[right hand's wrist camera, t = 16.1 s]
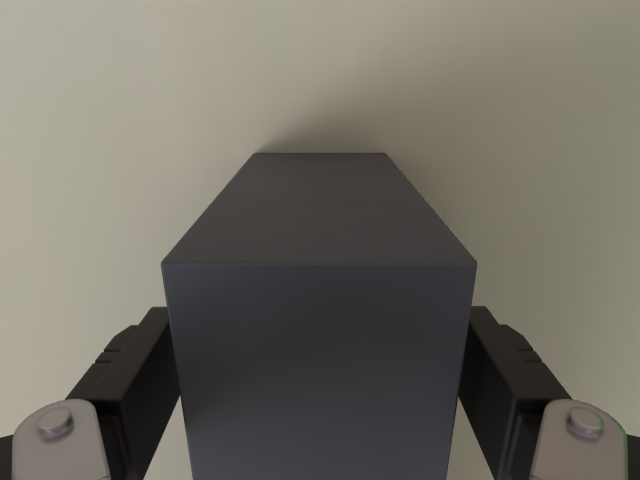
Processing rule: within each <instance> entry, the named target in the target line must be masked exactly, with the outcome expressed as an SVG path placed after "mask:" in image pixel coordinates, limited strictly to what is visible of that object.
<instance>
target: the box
mask: <svg viewBox="0 0 640 480" xmlns="http://www.w3.org/2000/svg"><path fill="white" fill-rule="evenodd" d="M161 269H162V275H163V282H164V289H165V295H166V302H167V309H168V316H169V322H170V329H171V336H172V342H173V349H174V356H175V362H176V369H177V376H178V382H179V389H180V396H181V402H182V409H183V416H184V422H185V429H186V436H187V442H188V449H189V456H190V462H191V469H192V476H193V480H446V476H447V469H448V462H449V456H450V449H451V442H452V435H453V428H454V421H455V414H456V407H457V400H458V393H459V386H460V380H461V373H462V366H463V359H464V352H465V345H466V338H467V331H468V324H469V317H470V310H471V304H472V297H473V290H474V283H475V276H476V269H477V262H476V260H475V259H474V258H473V257H472V256H471V254H470V253H469V252H468V251H467V250H466V248H465V247H464V246H463V245H462V244H461V242H460V241H459V240H458V239H457V238H456V236H455V235H454V234H453V233H452V232H451V230H450V229H449V228H448V227H447V226H446V225H445V223H444V222H443V221H442V220H441V219H440V217H439V216H438V215H437V214H436V213H435V211H434V210H433V209H432V208H431V207H430V205H429V204H428V203H427V202H426V201H425V200H424V198H423V197H422V196H421V195H420V194H419V192H418V191H417V190H416V189H415V188H414V186H413V185H412V184H411V183H410V182H409V180H408V179H407V178H406V177H405V176H404V174H403V173H402V172H401V171H400V170H399V169H398V167H397V166H396V165H395V164H394V163H393V161H392V160H391V159H390V158H389V157H388V155H387V154H386V153H254V154H253V155H252V156H251V157H250V158H249V160H248V161H247V162H246V163H245V164H244V165H243V167H242V168H241V169H240V170H239V171H238V172H237V174H236V175H235V176H234V177H233V178H232V180H231V181H230V182H229V183H228V184H227V185H226V187H225V188H224V189H223V190H222V191H221V192H220V194H219V195H218V196H217V197H216V198H215V200H214V201H213V202H212V203H211V204H210V205H209V207H208V208H207V209H206V210H205V211H204V212H203V214H202V215H201V216H200V217H199V218H198V220H197V221H196V222H195V223H194V224H193V225H192V227H191V228H190V229H189V230H188V231H187V232H186V234H185V235H184V236H183V237H182V238H181V240H180V241H179V242H178V243H177V244H176V245H175V247H174V248H173V249H172V250H171V251H170V253H169V254H168V255H167V256H166V257H165V258H164V260H163V261H162V262H161Z"/></svg>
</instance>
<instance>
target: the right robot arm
mask: <svg viewBox="0 0 640 480" xmlns="http://www.w3.org/2000/svg"><path fill="white" fill-rule="evenodd" d="M179 396H180V389H179V382H178V376H177V369H176V362H175V356H174V349H173V342H172V336H171V329H170V322H169V316H168V309H167V307H152V308H151V309H150V310H149V311H148V313H147V314H146V316H145V317H144V318H143V320H142V321H141V322H140V324H139V325H131V326H129V327H128V328H126V329H125V330H123V331H122V332H120V333H119V334H117V335H116V336H114V338H113V339H112V340H111V341H110V343H109V344H108V345H107V346H106V348H105V349H104V352H102V353H101V354H100V355H99V357H98V358H97V359H96V360H95V364H92V366H91V367H90V368H89V369H88V371H87V372H86V373H85V374H84V376H83V377H82V378H81V380H80V381H79V382H78V383H77V385H76V386H75V387H74V388H73V390H72V391H71V392H70V394H69V395H68V396H67V397H66V399H65V400H62V401H58V402H55V403H52V404H50V405H47V406H45V407H43V408H41V409H39V410H37V411H36V412H34V413H33V414H31V415H30V416H28V417H27V418H26V419H25V420H24V421H23V422H22V423H21V424H20V425H19V426H18V428H17V429H16V431H15V433H14V434H13V435H10V436H6V437H2V438H0V480H143V479H144V476H145V474H146V472H147V470H148V467H149V465H150V463H151V460H152V458H153V456H154V454H155V451H156V449H157V447H158V444H159V442H160V440H161V438H162V435H163V433H164V431H165V428H166V426H167V424H168V421H169V419H170V417H171V415H172V412H173V410H174V408H175V405H176V403H177V401H178V399H179ZM458 396H459V399H460V401H461V403H462V405H463V408H464V410H465V412H466V415H467V417H468V419H469V422H470V424H471V426H472V429H473V431H474V433H475V436H476V438H477V440H478V443H479V445H480V447H481V450H482V452H483V454H484V457H485V459H486V461H487V463H488V466H489V468H490V470H491V473H492V475H493V477H494V480H640V437H636V436H632V435H628V434H626V433H625V431H624V429H623V428H622V426H621V425H620V424H619V423H618V422H617V421H616V420H615V419H614V418H613V417H612V416H610V415H609V414H607V413H606V412H604V411H603V410H601V409H599V408H597V407H595V406H593V405H590V404H588V403H585V402H582V401H578V400H573V399H572V398H571V397H570V395H569V394H568V393H567V392H566V390H565V389H564V388H563V386H562V385H561V384H560V383H559V381H558V380H557V379H556V377H555V376H554V375H553V374H552V372H551V371H550V370H549V368H548V367H547V366H546V365H545V363H542V359H541V358H540V357H539V356H538V354H537V353H536V352H534V351H533V348H532V347H531V345H530V344H529V343H528V342H527V340H526V339H525V338H524V336H523V335H521V334H520V333H518V332H517V331H515V330H514V329H512V328H511V327H509V326H508V325H499V324H498V323H497V321H496V320H495V318H494V317H493V316H492V314H491V313H490V311H489V310H488V309H487V308H486V307H485V306H471V310H470V317H469V324H468V331H467V338H466V345H465V352H464V359H463V366H462V373H461V380H460V386H459V393H458Z"/></svg>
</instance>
